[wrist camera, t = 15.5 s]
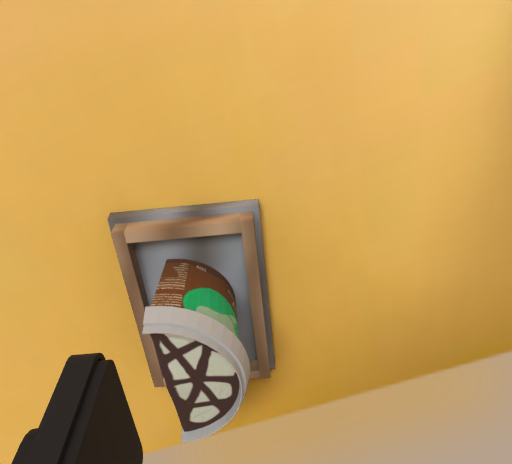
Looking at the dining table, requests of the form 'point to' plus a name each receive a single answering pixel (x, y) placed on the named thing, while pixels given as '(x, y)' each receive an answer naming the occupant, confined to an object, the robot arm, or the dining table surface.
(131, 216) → the board
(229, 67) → the dining table surface
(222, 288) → the food container
